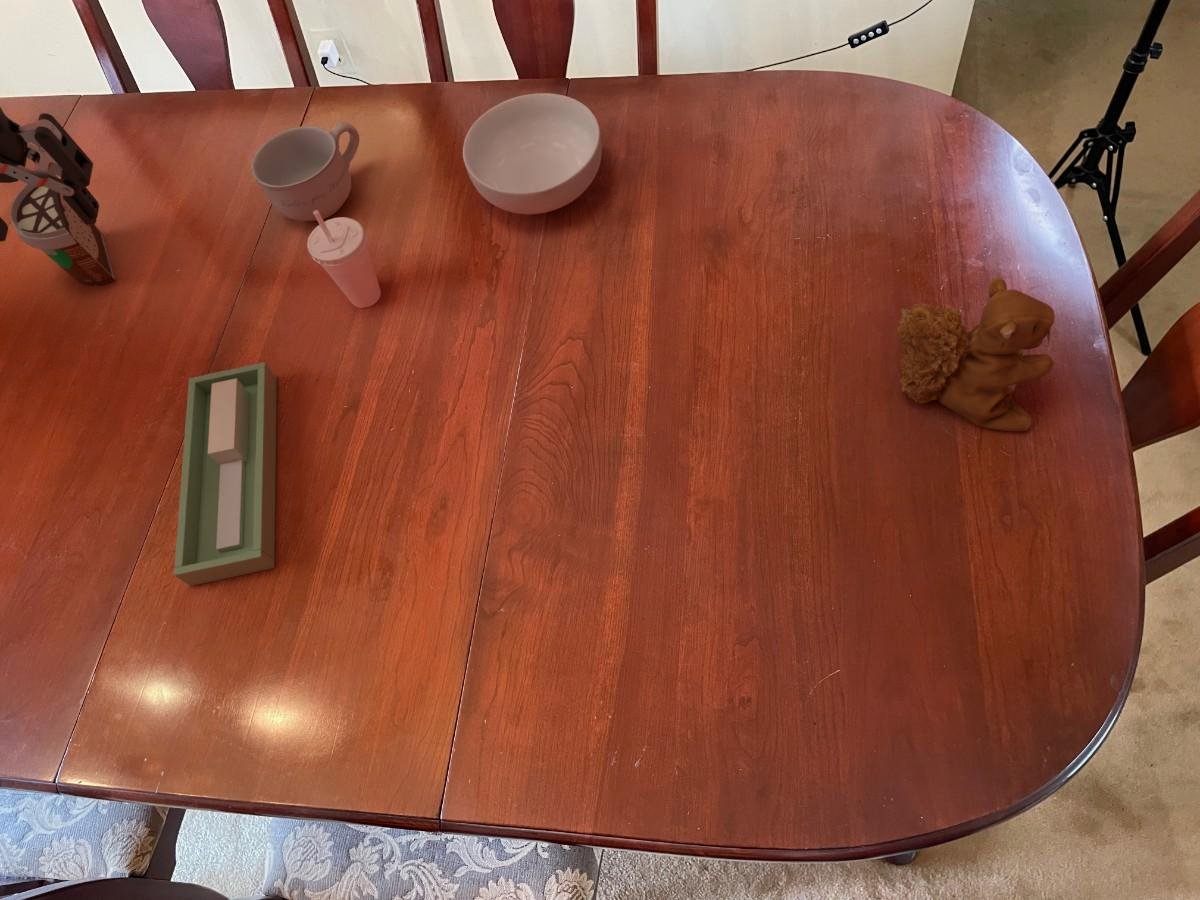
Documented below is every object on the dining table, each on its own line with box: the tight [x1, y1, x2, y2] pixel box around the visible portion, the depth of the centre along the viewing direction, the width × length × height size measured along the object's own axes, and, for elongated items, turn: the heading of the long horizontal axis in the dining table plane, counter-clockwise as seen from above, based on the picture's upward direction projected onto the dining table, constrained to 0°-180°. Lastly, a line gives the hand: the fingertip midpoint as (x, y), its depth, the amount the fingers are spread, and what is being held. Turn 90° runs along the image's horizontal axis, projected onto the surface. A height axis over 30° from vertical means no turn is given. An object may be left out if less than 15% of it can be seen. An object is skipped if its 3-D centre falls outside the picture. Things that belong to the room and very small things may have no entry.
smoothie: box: [306, 210, 382, 309], centre depth 94 cm, size 6×6×14 cm
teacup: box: [250, 121, 360, 222], centre depth 106 cm, size 14×11×8 cm
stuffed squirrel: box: [896, 277, 1056, 433], centre depth 80 cm, size 10×14×13 cm
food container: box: [9, 171, 116, 286], centre depth 104 cm, size 12×6×10 cm, turn 27°
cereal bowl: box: [462, 92, 603, 215], centre depth 103 cm, size 17×17×7 cm
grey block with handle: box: [208, 378, 249, 552], centre depth 88 cm, size 19×3×3 cm, turn 11°
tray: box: [173, 361, 278, 587], centre depth 89 cm, size 24×9×3 cm, turn 10°
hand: (47, 226), depth 79 cm, fingers open, 8 cm apart
